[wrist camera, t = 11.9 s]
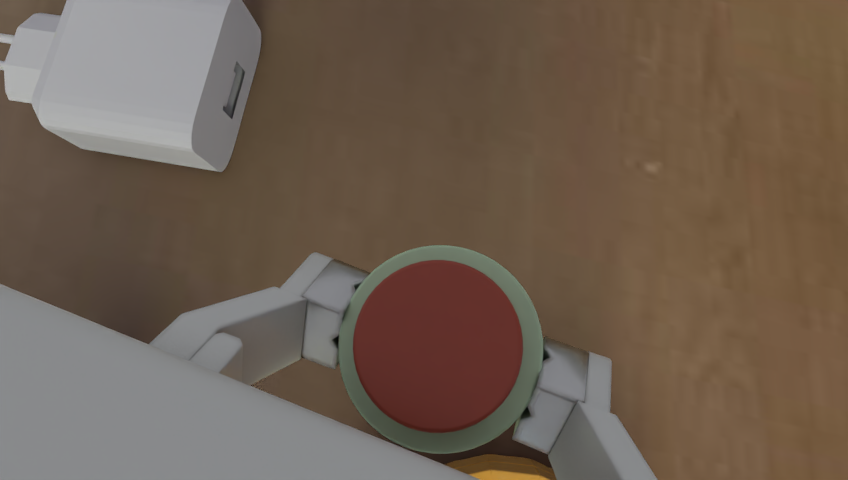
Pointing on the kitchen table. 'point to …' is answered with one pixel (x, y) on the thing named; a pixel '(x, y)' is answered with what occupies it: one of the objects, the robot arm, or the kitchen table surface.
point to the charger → (139, 76)
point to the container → (440, 349)
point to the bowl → (503, 468)
